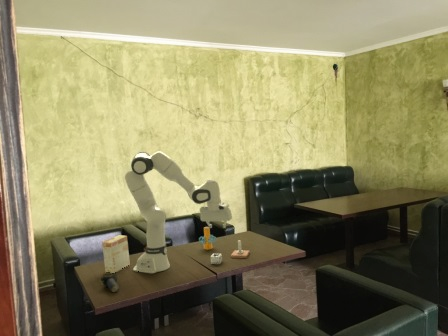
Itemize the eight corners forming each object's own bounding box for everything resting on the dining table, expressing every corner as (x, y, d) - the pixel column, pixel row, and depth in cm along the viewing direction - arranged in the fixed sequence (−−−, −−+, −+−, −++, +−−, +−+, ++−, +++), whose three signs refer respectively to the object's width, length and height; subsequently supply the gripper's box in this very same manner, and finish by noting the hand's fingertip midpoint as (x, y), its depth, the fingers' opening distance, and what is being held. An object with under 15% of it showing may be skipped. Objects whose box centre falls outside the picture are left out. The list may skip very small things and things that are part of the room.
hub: (211, 263, 228) (210, 256, 227) (213, 260, 233) (213, 253, 233) (219, 264, 226) (219, 256, 226) (222, 260, 232) (221, 253, 231)
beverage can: (103, 289, 205) (110, 297, 195) (100, 277, 203) (106, 285, 193) (119, 281, 209) (126, 289, 199) (115, 269, 207) (122, 277, 197)
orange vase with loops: (217, 245, 263) (216, 225, 261) (216, 250, 253) (214, 229, 251) (200, 246, 264) (199, 226, 263) (198, 251, 254) (196, 230, 252)
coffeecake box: (122, 264, 239) (119, 234, 237) (130, 265, 236) (127, 235, 234) (104, 272, 226) (101, 241, 224) (113, 274, 223) (110, 242, 221)
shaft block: (231, 257, 236) (230, 243, 235) (234, 252, 246) (233, 238, 245) (246, 258, 234) (245, 243, 233) (249, 252, 243) (248, 238, 242)
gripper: (197, 207, 229) (200, 229, 230) (227, 206, 221) (230, 229, 223) (201, 205, 235) (204, 226, 236) (231, 204, 227) (234, 225, 228)
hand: (217, 227), depth 229 cm, fingers open, 8 cm apart
